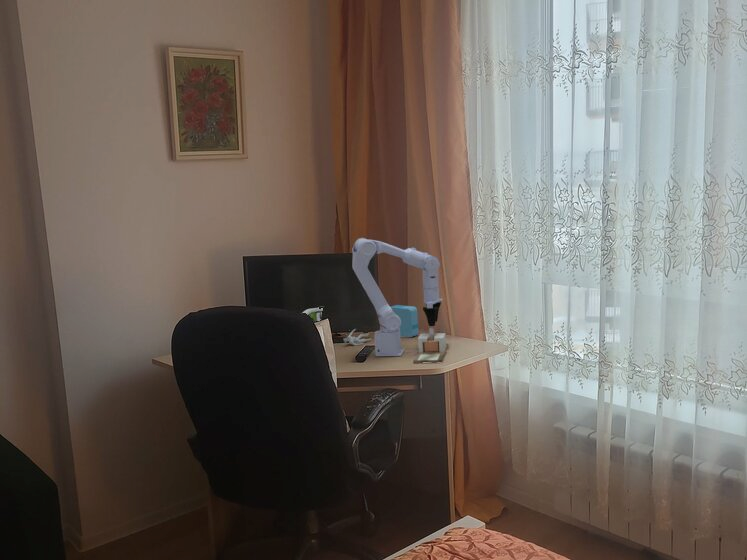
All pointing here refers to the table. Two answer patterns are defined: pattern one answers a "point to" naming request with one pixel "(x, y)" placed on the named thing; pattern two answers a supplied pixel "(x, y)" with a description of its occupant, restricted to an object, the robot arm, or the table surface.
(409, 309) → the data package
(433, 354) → the walnut board
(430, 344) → the sled block
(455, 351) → the table surface
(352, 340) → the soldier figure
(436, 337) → the grey tunnel
